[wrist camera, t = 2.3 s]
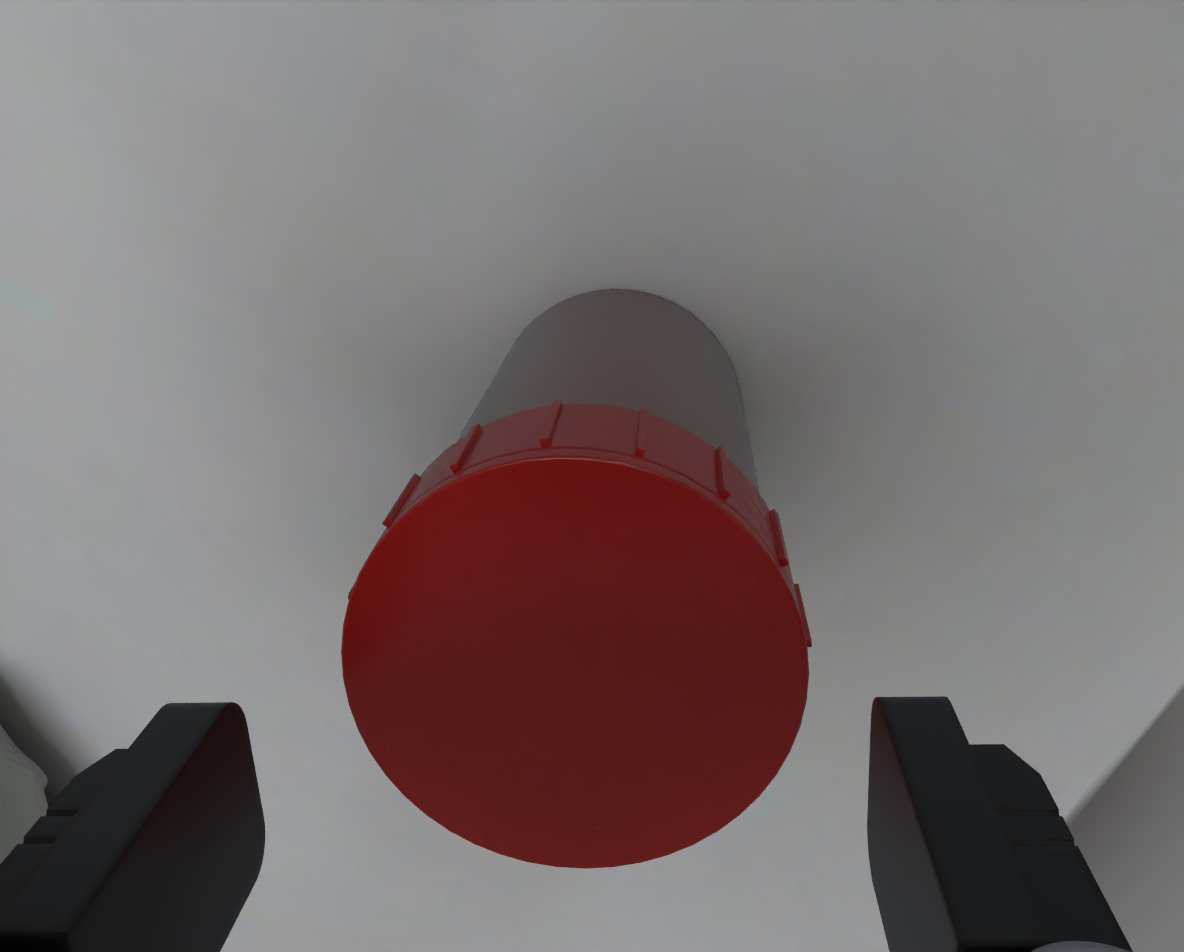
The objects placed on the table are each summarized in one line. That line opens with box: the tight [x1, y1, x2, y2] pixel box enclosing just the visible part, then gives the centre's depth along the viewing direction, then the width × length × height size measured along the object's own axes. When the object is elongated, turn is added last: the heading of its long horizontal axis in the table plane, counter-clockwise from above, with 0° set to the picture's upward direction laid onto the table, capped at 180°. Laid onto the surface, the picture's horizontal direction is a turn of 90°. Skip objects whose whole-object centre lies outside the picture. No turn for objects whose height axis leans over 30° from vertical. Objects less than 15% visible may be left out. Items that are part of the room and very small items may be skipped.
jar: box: [457, 289, 760, 494], centre depth 19 cm, size 5×5×11 cm
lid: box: [341, 400, 812, 868], centre depth 15 cm, size 6×6×2 cm
